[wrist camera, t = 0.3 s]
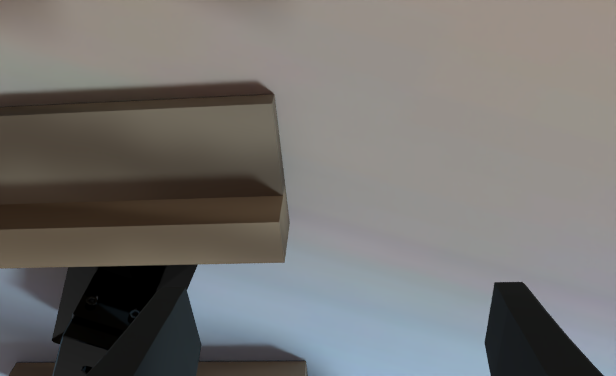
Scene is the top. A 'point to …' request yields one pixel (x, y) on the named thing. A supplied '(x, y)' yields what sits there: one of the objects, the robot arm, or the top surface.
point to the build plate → (105, 309)
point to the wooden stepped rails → (145, 191)
